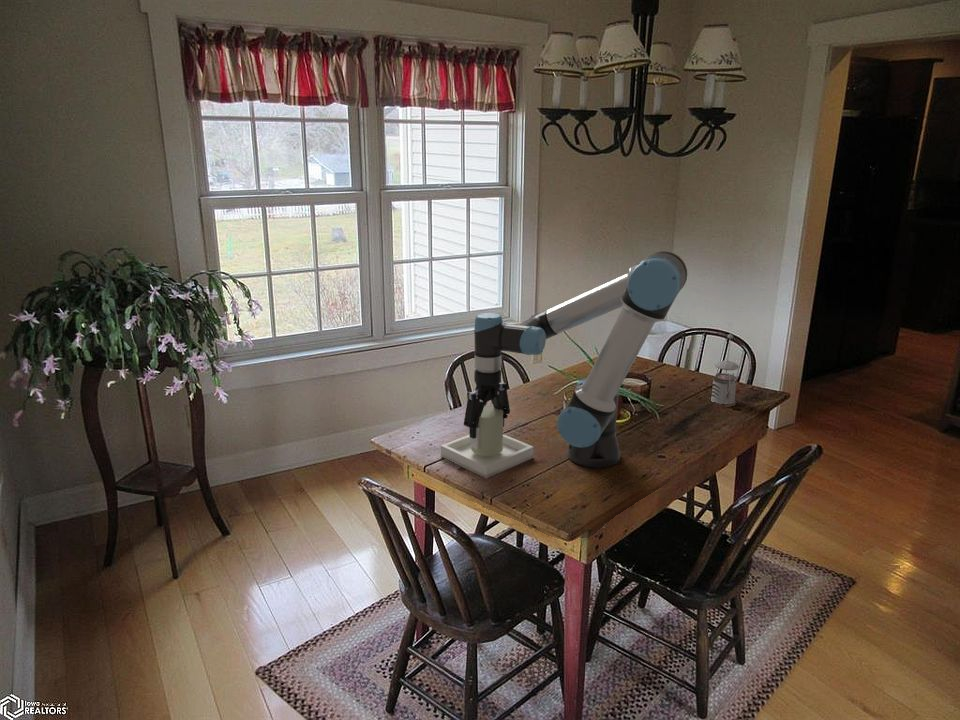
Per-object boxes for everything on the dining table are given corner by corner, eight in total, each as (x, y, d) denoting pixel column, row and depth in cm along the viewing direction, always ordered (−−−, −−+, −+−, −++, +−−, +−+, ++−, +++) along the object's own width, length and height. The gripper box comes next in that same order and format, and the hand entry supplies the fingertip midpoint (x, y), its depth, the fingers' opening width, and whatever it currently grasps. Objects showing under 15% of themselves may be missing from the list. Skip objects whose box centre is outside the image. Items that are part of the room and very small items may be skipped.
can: (480, 439, 205) (480, 402, 201) (508, 446, 201) (508, 407, 197) (465, 451, 197) (465, 412, 193) (494, 458, 193) (494, 418, 189)
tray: (533, 457, 199) (533, 446, 198) (486, 478, 187) (486, 467, 186) (487, 438, 212) (487, 427, 211) (440, 456, 200) (440, 445, 199)
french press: (731, 397, 247) (739, 330, 240) (743, 409, 236) (752, 339, 229) (704, 397, 247) (711, 330, 240) (715, 409, 236) (723, 339, 229)
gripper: (505, 357, 201) (503, 428, 208) (449, 374, 187) (450, 449, 194) (524, 363, 196) (522, 436, 203) (468, 380, 182) (468, 458, 189)
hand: (487, 442), depth 198 cm, fingers closed on can, 9 cm apart
